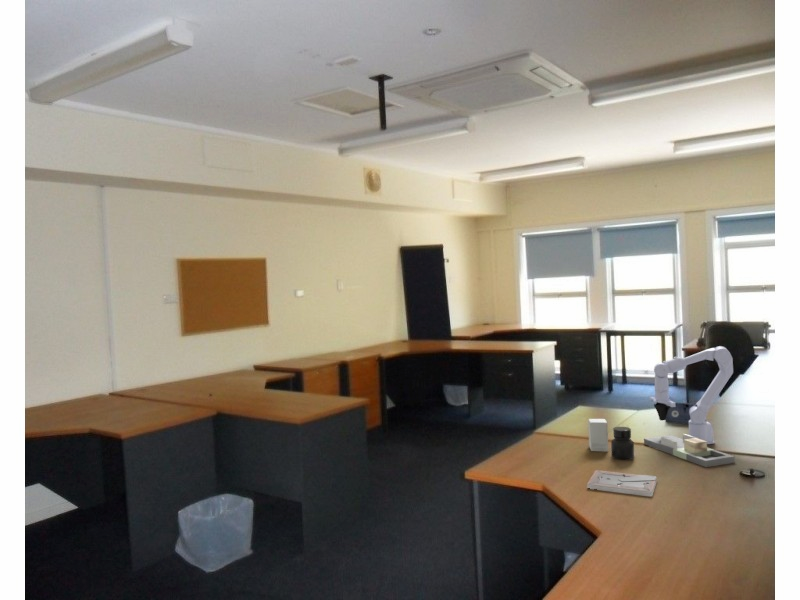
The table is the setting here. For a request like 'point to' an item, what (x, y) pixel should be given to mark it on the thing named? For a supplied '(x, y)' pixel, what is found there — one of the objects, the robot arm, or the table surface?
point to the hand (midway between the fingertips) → (662, 420)
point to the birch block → (695, 445)
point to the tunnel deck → (677, 449)
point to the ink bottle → (622, 444)
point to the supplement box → (598, 434)
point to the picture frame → (623, 483)
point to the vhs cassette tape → (679, 413)
